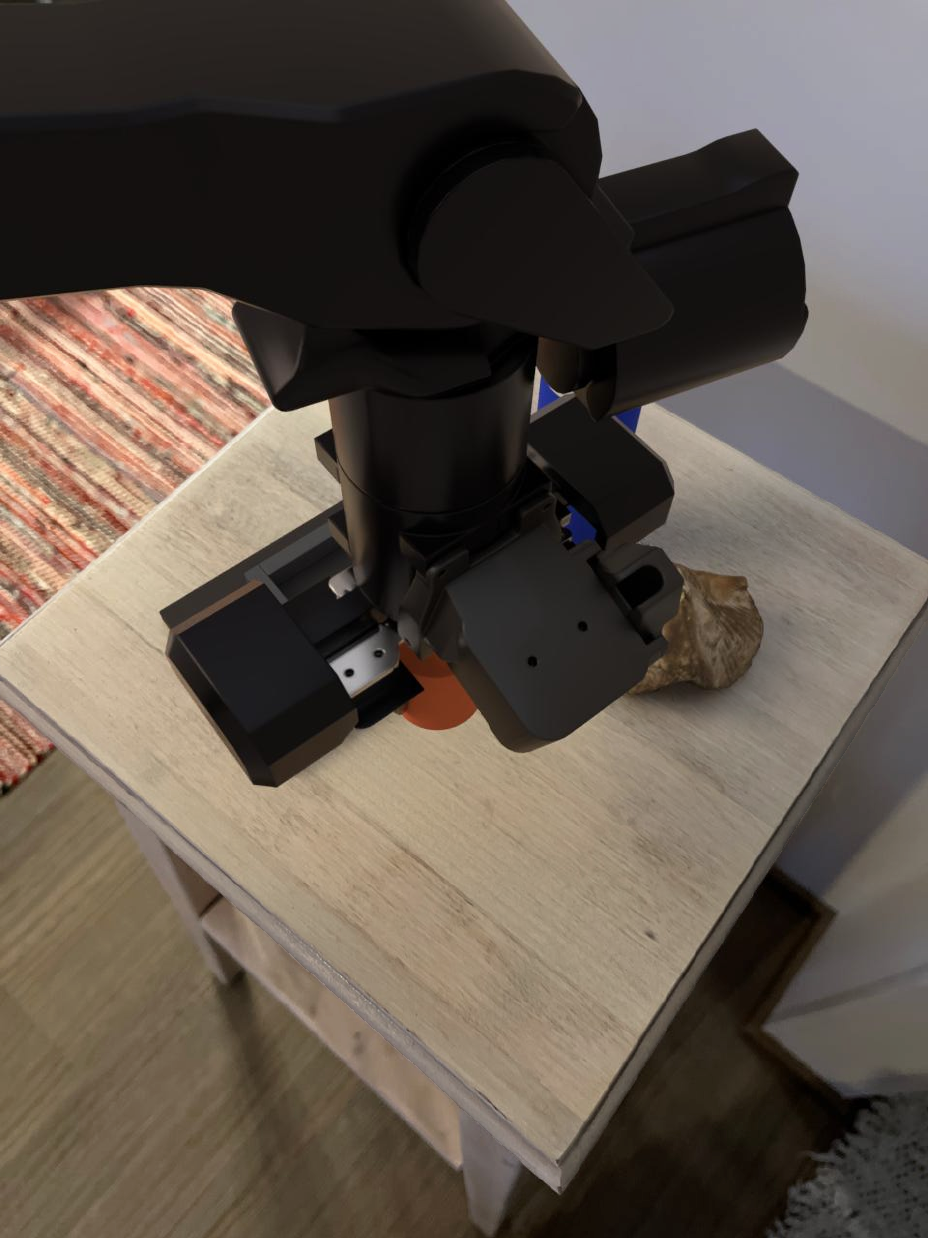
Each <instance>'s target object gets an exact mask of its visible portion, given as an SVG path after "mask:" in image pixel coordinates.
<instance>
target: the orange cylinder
mask: <svg viewBox="0 0 928 1238" xmlns="http://www.w3.org/2000/svg"><path fill="white" fill-rule="evenodd" d="M399 652H400V660H401V661H402V663H403V664H404V665H405V666H406V667H407V669H408V670H409V671H410V672H411V673H412V674H413V676H414V677H415V678H416V679H417V680H418V682H419V683H420V684H421V685H422V686H423V688H424V689H425V690H424V691H423V692H422V693H420V694H419V695H417V696H416V697H414V698H413V699H411V700H410V701H409V705H408V708H407V711H406V712H405V713H403V714H402V715H401V716H402V717H403V718H404V719H405V720H406V721H408V722H409V723H410V724H412V725H414V726H416V727H418V728H421V729H423V730H427V731H446V730H450V729H453V728H457V727H459V726H461V725H463V724H464V723H465V722H467V721H468V720H469V719H471V717H473V716H474V715H475V713H476V712H477V711H478V708H477V707H476V705H475V704H474V703H473V701H472V700H471V698H470V697H469V695H468V694H467V693H466V691H465V690H464V688H463V687H462V685H461V684H460V682H459V681H458V680H457V678H456V677H455V675H454V674H453V672H452V671H451V670H450V668H449V666H448V665H447V663H446V662H444V661H442V660H441V659H440V658H439V657H438V656H437V655H436V653H435V652H434V653H433V654H431V655H430V656H428V657H427V658H425V659H424V660H422V661H421V660H420V659H419V658H418V657H417V656H416V655H415V653H414V652H413V651H412V650H411V649H410V648H409V646H408V645H407V644H406V643H405V642H404V643H402V644H401V645H400V646H399Z"/></svg>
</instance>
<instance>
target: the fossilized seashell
mask: <svg viewBox="0 0 928 1238" xmlns="http://www.w3.org/2000/svg"><path fill="white" fill-rule="evenodd" d="M671 562H672V563H673V564H674V566H675V567H676V569H677V570H678V571H679V573H680V574H681V575H682V577H683V578H684V584H683V589H682V595H681V600H680V605H679V610H678V614H677V615H676V616H675V617H674V618H673V619H671V620H670V621H669V622H667V623H666V624H665V625H664V627H663V630H662V635H663V636H664V637H665V638H666V640H667V641H668V643H669V645H668V653H667V654H666V655H665V656H663V657H662V658H660V659H659V660H658V661H656V662H655V663H654V664H652V665H651V666H650V667H648V671H647V673H646V675H645V677H644V678H643V680H642V681H641V682H640V683H638V684H637V685H636V686H635V687H633V688H632V689H631V690H629V691H628V692H626V693H625V694H629V695H632V696H638V695H641V694H642V695H643V694H646V693H654V692H658V691H661V690H663V689H665V688H667V687H669V686H672V685H675V684H679V683H685V684H688V685H692V686H694V687H697V688H700V689H702V690H703V691H714V690H720V689H726V688H729V687H731V686H732V685H733V684H734V683H736V682H737V681H738V680H739V678H741V677H743V676H745V674H746V673H747V672H748V670H749V669H750V668H751V667H752V665H753V660H754V658H755V657H756V655H757V653H758V651H759V649H760V648H761V644H762V640H763V637H764V631H765V627H764V626H765V625H764V621H763V618H762V616H761V614H760V612H759V609H758V607H757V606H756V603H755V600H754V598H753V597H752V595H751V593H750V591H749V590H748V589H749V583H748V579H747V577H746V576H743V575H729V574H721V573H716V572H711V571H706V570H700V569H692V568H690V567H688V566H685V565H684V564H682V563H677V562H673V561H671Z"/></svg>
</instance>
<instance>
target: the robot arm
mask: <svg viewBox="0 0 928 1238" xmlns="http://www.w3.org/2000/svg"><path fill="white" fill-rule="evenodd" d="M602 148H603V147H602V141H601V134H600V126H599V119H598V117H597V115H596V113H595V112H594V110H593V109H592V107H591V104H590V103H589V101H588V100H587V98H586V96H585V94H584V92H583V91H582V89H581V88H580V86H578V84H577V83H576V82H575V81H574V80H573V78H572V77H571V76H570V75H569V74H568V73H567V71H566V70H565V68H563V66H562V65H561V64H560V63H559V62H558V60H557V59H556V58H555V57H554V56H553V55H552V53H551V52H550V51H549V50H548V49H547V47H546V46H545V45H544V44H543V42H541V40H540V39H539V38H538V37H537V36H536V35H535V33H534V32H533V31H532V29H530V27H529V26H528V25H527V24H526V22H525V21H524V20H523V19H522V18H521V17H520V15H519V14H518V13H517V12H516V11H515V10H514V9H513V7H512V6H511V5H510V4H509V3H508V1H507V0H86V1H81V2H57V3H56V2H0V303H5V302H13V301H22V300H32V299H42V298H51V297H60V296H70V295H78V294H79V295H81V294H88V293H97V292H108V291H116V290H117V291H118V290H127V289H134V288H135V289H137V288H140V289H141V288H151V289H153V288H154V289H178V290H179V289H181V290H198V291H199V290H200V291H203V292H209V293H213V294H214V295H218V296H221V297H224V298H225V299H230V300H232V301H235V302H234V303H233V305H232V308H231V310H230V311H231V312H230V313H231V318H232V320H233V322H234V325H235V327H236V329H237V331H238V333H239V336H240V338H241V340H242V342H243V344H244V346H245V349H246V351H247V353H248V355H249V357H250V359H251V361H252V364H253V366H254V368H255V370H256V372H257V375H258V377H259V379H260V381H261V383H262V386H263V388H264V389H265V392H266V394H267V396H268V399H269V401H270V403H271V404H272V406H273V407H274V409H275V410H277V411H279V412H282V413H290V412H293V411H298V410H300V409H303V408H307V407H309V406H312V405H313V406H314V405H316V404H320V403H323V402H328V408H329V416H330V424H331V428H330V429H328V430H326V431H324V432H322V433H320V434H319V435H317V436H316V437H314V438H313V441H314V448H315V452H316V458H317V461H318V462H319V463H320V464H321V465H322V466H323V467H324V468H325V469H326V471H327V472H328V473H329V474H330V475H331V476H332V477H333V478H334V479H335V481H336V482H337V483H338V484H339V485H340V490H341V496H342V500H343V504H344V508H343V509H342V510H340V511H338V512H337V513H335V514H333V515H331V516H330V517H328V522H329V528H330V534H331V536H332V537H333V538H334V539H335V540H336V541H337V543H338V544H339V545H340V546H341V547H342V548H343V550H344V551H345V552H346V553H347V554H348V555H349V556H350V558H351V559H352V565H351V566H350V567H348V568H347V569H345V570H343V571H342V572H340V573H338V574H337V575H335V576H334V577H332V578H331V577H330V576H328V577H326V578H324V579H323V580H321V581H319V582H318V583H316V584H315V585H313V586H311V587H310V588H308V589H306V590H305V591H303V592H301V593H300V594H298V595H297V596H295V597H293V598H292V599H290V600H288V601H287V602H285V603H284V604H281V603H280V602H279V601H278V599H277V598H276V597H275V596H274V594H273V593H272V592H271V591H270V589H269V588H268V587H267V586H266V584H265V583H263V582H260V581H257V580H253V581H251V582H249V583H248V584H246V585H244V586H243V587H241V588H239V589H238V590H236V591H234V592H233V593H231V594H229V595H228V596H226V597H224V598H223V599H221V600H219V601H218V602H216V603H214V604H213V605H211V606H209V607H208V608H206V609H204V610H203V611H201V612H199V613H197V614H196V615H194V616H192V617H191V618H189V619H187V620H186V621H184V622H182V623H181V624H179V625H177V626H176V627H174V628H172V629H171V630H170V629H169V630H168V636H167V641H166V646H165V651H164V656H165V657H166V659H167V660H168V663H169V665H170V668H171V669H172V671H173V673H174V676H175V677H176V678H177V679H178V680H179V682H180V684H181V685H182V686H183V688H184V690H185V691H186V692H187V694H188V695H189V696H190V698H191V699H192V701H193V702H194V703H195V705H196V707H197V708H198V709H199V711H200V712H201V713H202V715H203V716H204V718H205V719H206V720H207V722H208V723H209V725H210V726H211V728H212V729H213V730H214V732H215V733H216V735H217V736H218V737H219V739H220V740H221V741H222V743H223V744H224V746H225V748H226V749H227V750H228V751H229V753H230V754H231V756H232V757H233V758H234V760H235V761H236V763H237V764H238V766H239V767H240V768H241V770H242V771H243V773H244V774H245V776H246V777H247V778H248V780H249V781H250V782H251V784H252V785H253V786H259V787H266V788H268V787H269V788H276V789H277V788H279V787H280V786H283V784H285V783H286V782H288V781H289V780H290V779H292V778H293V777H295V776H296V775H298V774H299V773H301V772H303V771H304V770H305V769H307V768H309V767H310V766H311V765H313V764H314V763H316V762H317V761H318V760H320V759H321V758H323V757H325V756H326V755H328V754H329V753H330V752H332V751H333V750H335V749H336V748H337V747H339V746H340V745H342V744H343V743H344V742H345V740H346V739H347V738H348V736H349V735H350V733H352V731H353V730H354V729H356V730H367V729H369V728H372V727H373V726H375V725H376V724H378V723H379V722H381V721H382V720H383V719H385V718H386V717H388V716H389V715H391V714H392V713H395V714H396V715H398V716H402V714H403V713H405V712H406V711H407V708H408V705H409V701H410V700H411V699H413V698H414V697H416V696H417V695H419V694H420V693H422V692H423V691H424V690H425V689H424V688H423V686H422V685H421V684H420V683H419V682H418V680H417V679H416V678H415V677H414V676H413V674H412V673H411V672H410V671H409V670H408V669H407V667H406V666H405V665H404V664H403V663H402V661H401V660H400V652H399V646H400V645H401V644H402V643H404V642H405V643H406V644H407V645H408V646H409V648H410V649H411V650H412V651H413V652H414V653H415V655H416V656H417V657H418V658H419V659H420V660H421V661H422V660H424V659H425V658H427V657H428V656H430V655H431V654H433V653H434V652H435V653H436V655H437V656H438V657H439V658H440V659H441V660H442V661H444V662H446V663H447V665H448V666H449V668H450V670H451V671H452V672H453V674H454V675H455V677H456V678H457V680H458V681H459V682H460V684H461V685H462V687H463V688H464V690H465V691H466V693H467V694H468V695H469V697H470V698H471V700H472V701H473V703H474V704H475V705H476V707H477V708H478V709H477V711H479V713H480V714H481V716H482V717H483V719H484V720H485V721H486V723H487V725H488V727H489V730H490V732H491V733H492V735H493V736H494V737H495V739H496V740H497V741H498V743H499V744H500V745H501V746H502V747H504V748H505V749H507V750H509V751H510V752H513V753H517V754H527V753H531V752H534V751H536V750H538V749H540V748H543V747H545V746H548V745H552V744H554V743H555V742H558V741H561V740H563V739H565V738H567V737H569V736H570V735H571V734H572V733H574V732H575V731H577V730H579V729H580V728H581V727H582V726H584V725H585V724H586V723H588V722H589V721H590V720H592V719H593V718H594V717H596V716H597V715H598V714H600V713H601V712H602V711H604V710H605V709H606V708H608V707H609V706H611V705H612V704H613V703H614V702H616V701H618V700H619V699H620V698H621V697H622V696H624V695H626V694H627V693H626V692H628V691H629V690H631V689H632V688H633V687H635V686H636V685H637V684H638V683H640V682H641V681H642V680H643V678H644V677H645V675H646V673H647V671H648V667H650V666H651V665H652V664H654V663H655V662H656V661H658V660H659V659H660V658H662V657H663V656H665V655H666V654H667V653H668V645H669V643H668V641H667V640H666V638H665V637H664V636H663V635H662V630H663V627H664V625H665V624H666V623H667V622H669V621H670V620H671V619H673V618H674V617H675V616H676V615H677V614H678V610H679V605H680V600H681V595H682V589H683V584H684V578H683V577H682V575H681V574H680V573H679V571H678V570H677V569H676V567H675V566H674V564H673V563H674V562H673V561H672V560H671V559H670V557H669V556H668V554H667V553H666V551H665V550H664V549H663V548H662V547H660V546H656V545H655V546H654V545H649V544H641V543H639V542H640V541H642V540H643V539H645V538H646V537H648V536H649V535H650V534H652V533H653V532H655V531H657V530H658V529H659V528H661V527H662V526H664V525H665V524H666V523H667V520H668V516H669V514H670V510H671V507H672V504H673V501H674V498H675V495H676V492H675V491H676V490H675V481H674V478H673V475H672V473H671V470H670V467H669V465H668V463H667V461H666V459H664V458H663V457H662V455H659V454H658V453H657V452H656V450H654V449H653V448H651V446H650V445H648V444H647V442H646V441H644V440H642V438H640V437H639V435H637V434H636V433H634V432H633V431H631V430H630V429H629V428H628V427H627V426H626V425H625V424H624V423H623V422H621V421H620V420H619V419H618V418H617V417H616V416H615V415H618V414H621V413H624V412H627V411H630V410H633V409H636V408H639V407H641V406H642V407H644V406H647V405H650V404H654V403H655V402H659V401H662V400H665V399H668V398H671V397H673V396H677V395H680V394H683V393H686V392H688V391H691V390H694V389H697V388H700V387H703V386H705V385H709V384H712V383H714V382H717V381H720V380H722V379H726V378H729V377H732V376H734V375H737V374H740V373H743V372H746V371H749V370H752V369H755V368H758V367H761V366H764V365H767V364H770V363H773V362H775V361H778V360H781V359H783V358H784V357H785V356H787V355H788V354H789V353H790V352H791V351H792V350H793V349H795V347H796V345H797V343H798V342H799V340H800V338H801V337H802V335H803V334H804V331H805V328H806V325H807V322H808V320H809V315H810V314H809V313H810V311H809V307H808V305H807V303H806V295H807V278H806V277H807V276H806V261H805V256H804V252H803V246H802V240H801V237H800V234H799V231H798V228H797V225H796V223H795V219H794V217H793V214H792V212H791V210H790V208H789V206H790V202H791V200H792V197H793V194H794V191H795V188H796V186H797V182H798V179H799V176H800V172H799V171H798V169H797V168H796V167H795V166H794V165H793V164H792V163H791V162H790V161H789V160H788V159H787V158H786V157H785V156H784V155H783V154H782V152H780V151H779V150H778V149H777V147H776V146H775V145H774V144H773V143H772V142H771V141H770V140H769V139H768V138H767V137H766V136H765V135H764V134H763V133H762V132H761V130H760V129H758V128H757V127H755V128H751V129H748V130H744V131H740V132H736V133H732V134H730V135H729V134H728V135H725V136H723V137H720V138H719V139H718V138H717V139H715V140H713V141H712V142H710V143H707V144H706V145H704V146H701V147H700V148H698V149H696V150H693V151H691V152H688V153H684V154H681V155H676V156H674V157H670V158H666V159H664V160H660V161H657V162H652V163H648V164H645V165H642V166H637V167H635V168H631V169H627V170H624V171H620V172H617V173H612V174H610V175H605V176H602V177H600V175H601V174H600V172H601V169H602V162H603V149H602ZM536 370H537V371H538V372H539V374H540V377H541V376H542V378H543V379H544V380H545V381H546V383H547V384H548V385H549V387H551V388H552V389H553V390H554V391H556V392H557V393H560V394H565V395H563V396H562V397H560V398H558V399H557V400H555V401H553V402H552V403H550V404H548V405H546V406H545V407H543V408H541V409H540V410H538V411H537V410H536V411H534V412H533V413H532V409H533V407H532V406H533V399H534V398H533V397H534V388H535V379H536ZM570 392H573V393H571V394H567V393H570ZM570 505H571V506H572V507H573V508H574V509H575V510H576V511H577V512H578V513H579V514H580V515H581V516H582V517H583V518H584V519H585V520H586V521H587V522H588V523H589V524H590V525H591V526H592V527H594V528H595V529H596V535H595V539H594V541H591V540H589V539H585V540H583V541H582V542H580V543H579V544H577V545H576V544H575V543H574V542H573V541H572V540H571V539H572V532H571V531H570V530H569V529H568V528H564V527H565V526H566V525H568V524H570V518H571V511H570V510H569V509H567V507H569V506H570ZM672 562H673V563H672ZM387 623H388V626H386V624H387Z"/></svg>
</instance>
